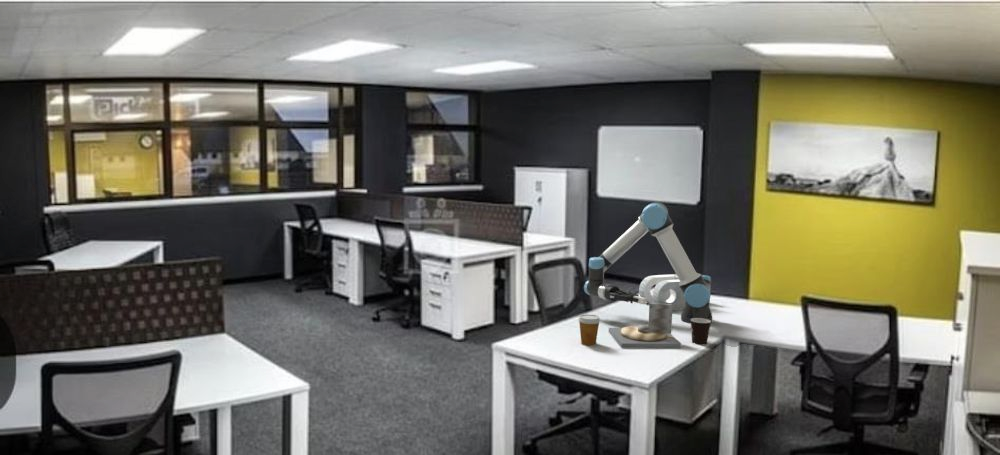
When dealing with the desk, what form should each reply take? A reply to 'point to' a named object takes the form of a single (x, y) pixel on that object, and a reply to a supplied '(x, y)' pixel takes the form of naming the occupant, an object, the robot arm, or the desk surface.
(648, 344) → the base
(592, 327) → the disposable coffee cup
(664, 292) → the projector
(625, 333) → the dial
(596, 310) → the desk surface
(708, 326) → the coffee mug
